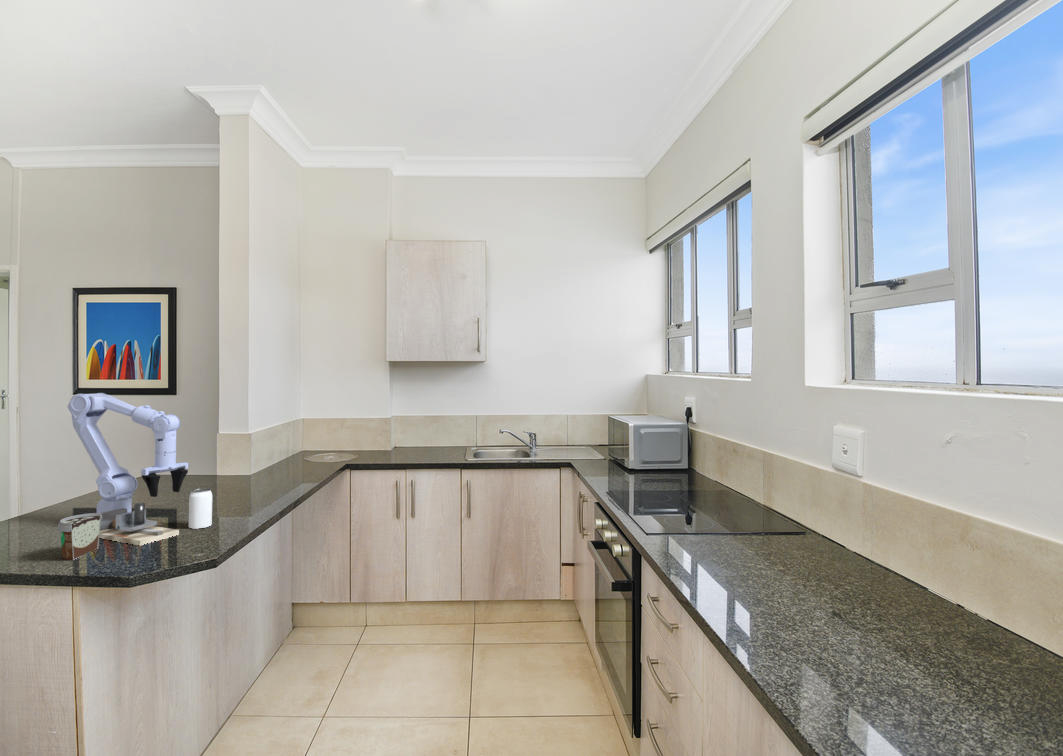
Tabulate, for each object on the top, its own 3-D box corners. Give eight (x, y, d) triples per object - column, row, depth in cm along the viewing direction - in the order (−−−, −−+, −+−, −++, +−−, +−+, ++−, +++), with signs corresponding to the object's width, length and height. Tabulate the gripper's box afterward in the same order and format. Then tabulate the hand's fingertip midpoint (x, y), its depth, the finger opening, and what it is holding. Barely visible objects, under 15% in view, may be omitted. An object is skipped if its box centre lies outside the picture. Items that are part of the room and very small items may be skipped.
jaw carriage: (115, 529, 164) (116, 505, 164) (142, 522, 172) (142, 499, 172) (130, 531, 162) (131, 507, 162) (156, 524, 170) (157, 501, 170)
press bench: (87, 536, 165) (88, 515, 165) (128, 527, 177) (128, 506, 177) (140, 545, 158) (140, 523, 158) (178, 534, 170) (179, 513, 170)
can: (200, 530, 175) (201, 492, 175) (183, 528, 176) (184, 491, 176) (216, 525, 181) (217, 488, 181) (199, 523, 182) (200, 487, 182)
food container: (78, 547, 155) (79, 512, 155) (101, 547, 156) (102, 512, 156) (43, 562, 143) (44, 524, 143) (68, 562, 144) (69, 524, 144)
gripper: (152, 455, 170) (152, 499, 170) (195, 450, 184) (194, 490, 184) (136, 454, 173) (136, 497, 173) (179, 448, 186) (179, 489, 186)
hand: (165, 494), depth 178 cm, fingers open, 7 cm apart
